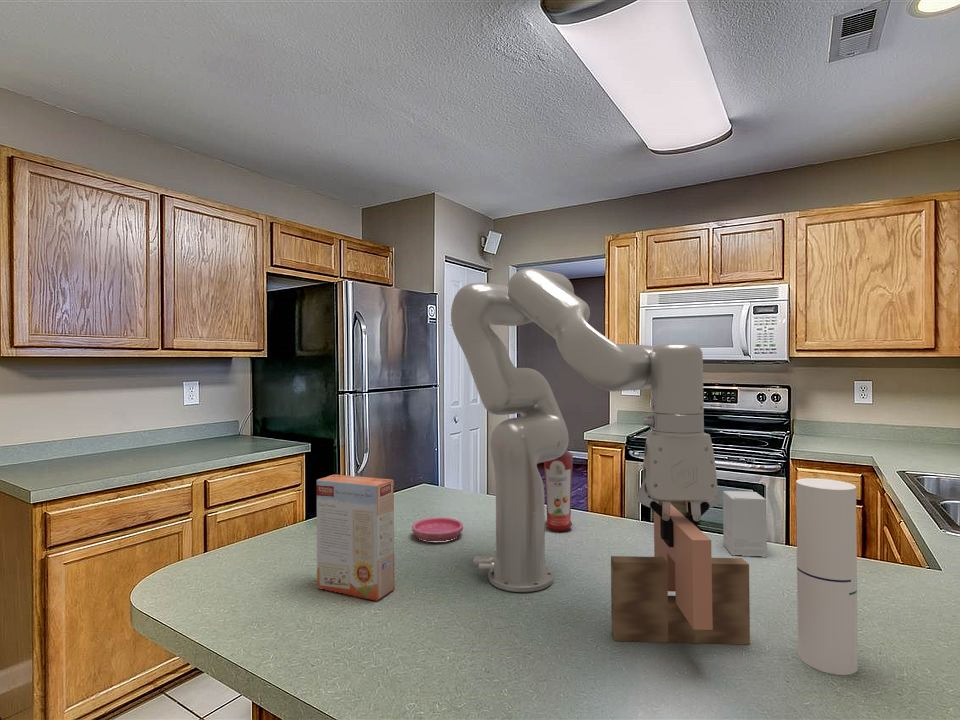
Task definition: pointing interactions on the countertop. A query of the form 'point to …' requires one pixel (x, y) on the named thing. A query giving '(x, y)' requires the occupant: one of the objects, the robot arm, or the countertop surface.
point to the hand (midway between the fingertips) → (679, 543)
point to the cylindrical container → (827, 575)
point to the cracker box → (355, 535)
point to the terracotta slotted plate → (688, 568)
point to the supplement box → (744, 523)
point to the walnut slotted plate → (656, 615)
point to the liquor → (559, 492)
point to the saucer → (437, 529)
